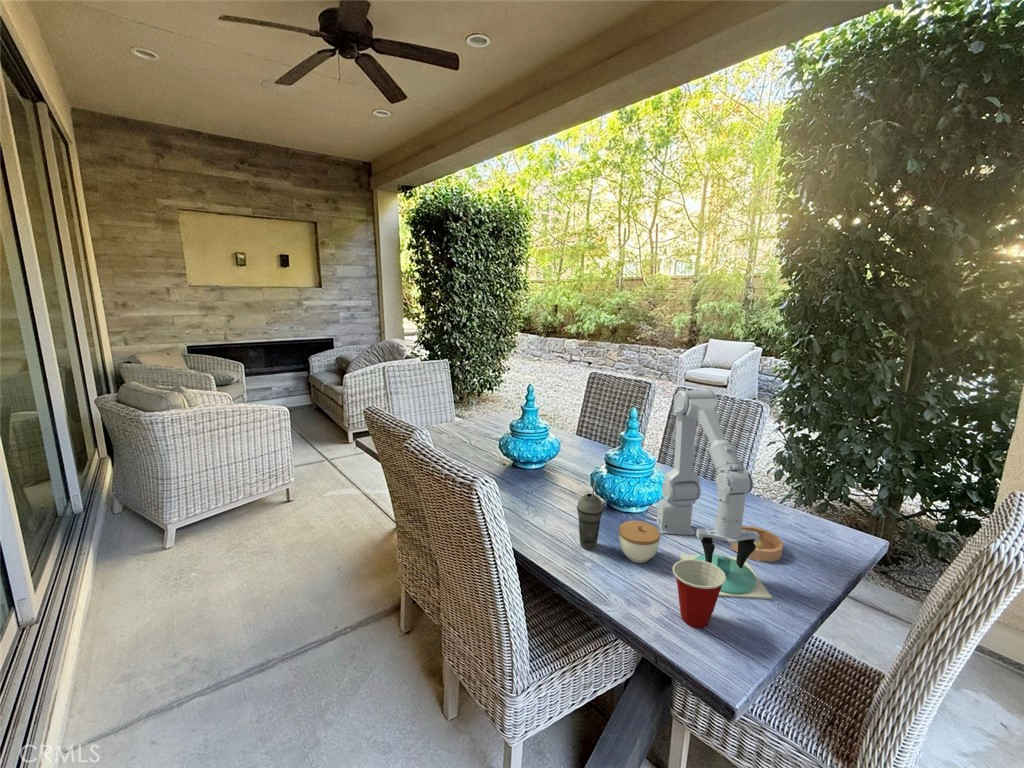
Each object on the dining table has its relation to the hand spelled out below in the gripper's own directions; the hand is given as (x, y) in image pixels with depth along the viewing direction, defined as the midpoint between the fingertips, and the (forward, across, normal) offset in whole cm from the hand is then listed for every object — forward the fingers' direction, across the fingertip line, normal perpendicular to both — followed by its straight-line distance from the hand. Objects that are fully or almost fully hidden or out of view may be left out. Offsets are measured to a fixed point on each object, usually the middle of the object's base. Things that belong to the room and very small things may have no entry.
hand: (723, 565), depth 116 cm
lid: (+3, 0, 0) cm, 3 cm away
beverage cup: (+3, -33, +11) cm, 35 cm away
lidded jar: (+3, -20, +7) cm, 21 cm away
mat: (+3, 0, 0) cm, 3 cm away
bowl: (+3, +14, +14) cm, 20 cm away
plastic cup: (+3, -12, -16) cm, 20 cm away
